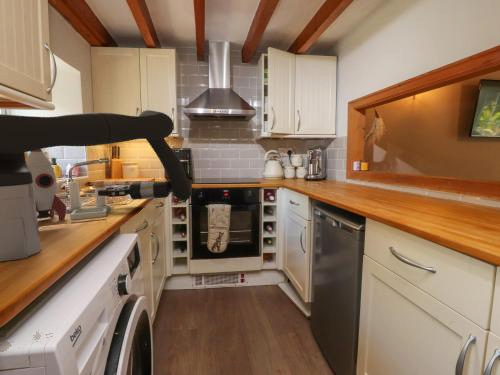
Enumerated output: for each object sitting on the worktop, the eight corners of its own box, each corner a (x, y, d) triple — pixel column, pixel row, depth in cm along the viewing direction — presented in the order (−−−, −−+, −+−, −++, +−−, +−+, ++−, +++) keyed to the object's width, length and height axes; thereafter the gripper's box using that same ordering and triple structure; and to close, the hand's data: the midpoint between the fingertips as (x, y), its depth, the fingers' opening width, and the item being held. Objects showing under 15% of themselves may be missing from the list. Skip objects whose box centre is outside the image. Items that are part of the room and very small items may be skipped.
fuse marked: (106, 209, 112) (103, 180, 110) (96, 210, 110) (93, 181, 109) (106, 208, 115) (104, 180, 113) (96, 209, 113) (94, 180, 112)
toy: (29, 230, 88) (17, 136, 84) (20, 225, 94) (8, 138, 90) (68, 223, 97) (59, 137, 93) (57, 219, 103) (48, 139, 99)
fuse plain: (80, 212, 108) (77, 182, 106) (69, 213, 106) (66, 182, 105) (82, 210, 111) (79, 181, 110) (71, 211, 110) (68, 181, 108)
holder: (113, 213, 111) (112, 206, 111) (32, 221, 100) (31, 213, 100) (114, 210, 118) (113, 203, 117) (38, 217, 107) (37, 209, 106)
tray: (106, 220, 100) (105, 211, 100) (71, 223, 96) (70, 214, 95) (108, 214, 110) (107, 206, 110) (76, 217, 106) (75, 208, 105)
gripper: (146, 179, 121) (107, 181, 118) (138, 183, 107) (94, 184, 104) (147, 196, 122) (109, 197, 119) (140, 201, 108) (96, 203, 105)
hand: (102, 191), depth 112 cm, fingers open, 8 cm apart
